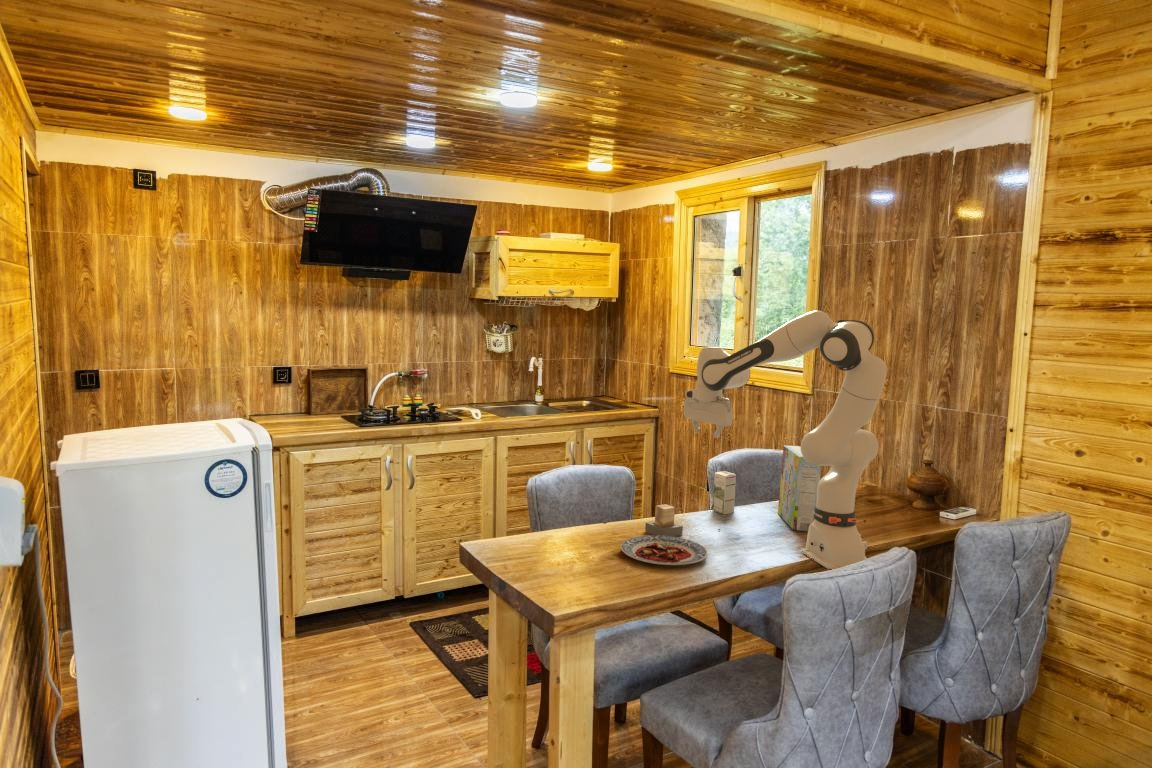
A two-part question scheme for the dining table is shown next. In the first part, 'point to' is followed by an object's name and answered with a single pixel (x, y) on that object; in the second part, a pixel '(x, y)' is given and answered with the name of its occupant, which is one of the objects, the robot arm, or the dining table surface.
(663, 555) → the ceramic plate
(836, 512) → the robot arm
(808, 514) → the snack box
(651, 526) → the square collar
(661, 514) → the oak peg
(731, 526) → the dining table surface
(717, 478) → the syrup box
